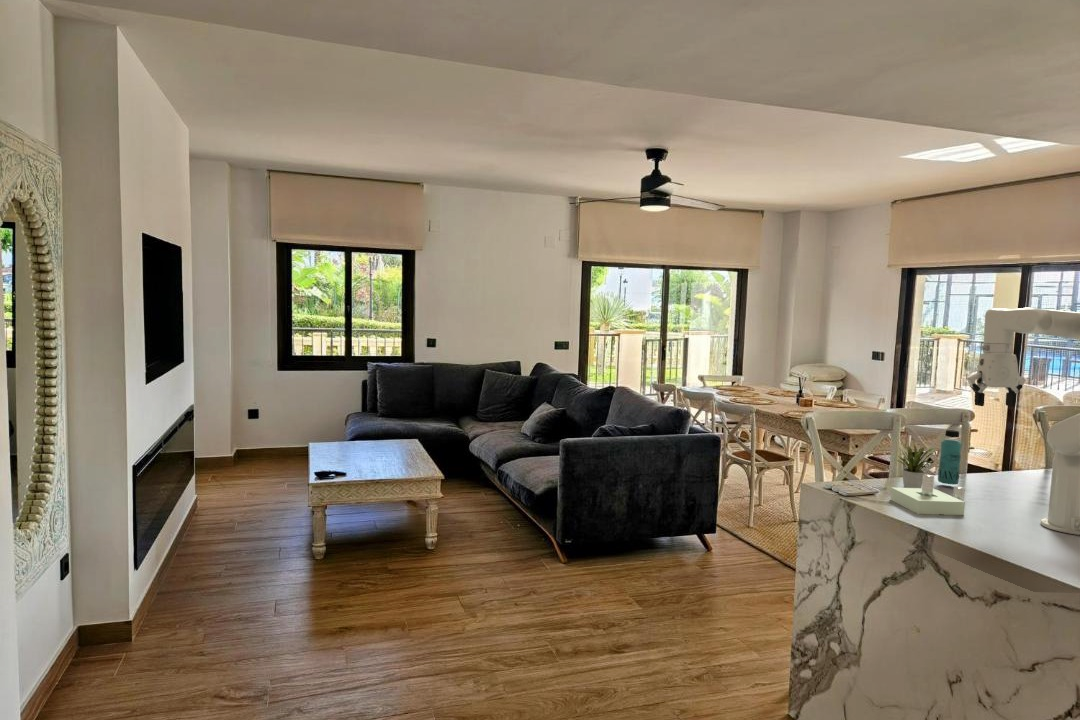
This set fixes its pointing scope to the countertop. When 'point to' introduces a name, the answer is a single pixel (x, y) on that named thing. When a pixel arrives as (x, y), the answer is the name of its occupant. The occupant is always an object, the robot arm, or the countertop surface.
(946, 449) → the beverage bottle
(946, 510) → the hole block
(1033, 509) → the countertop surface
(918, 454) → the house plant
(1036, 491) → the countertop surface
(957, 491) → the short pin
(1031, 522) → the countertop surface
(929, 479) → the tall pin
